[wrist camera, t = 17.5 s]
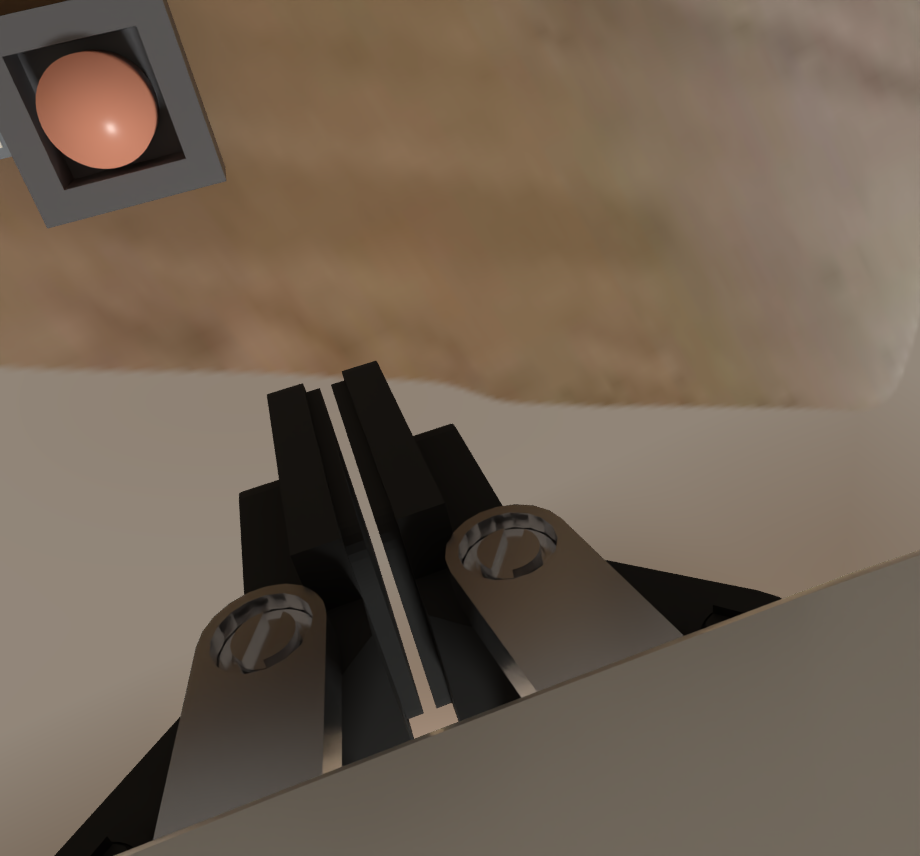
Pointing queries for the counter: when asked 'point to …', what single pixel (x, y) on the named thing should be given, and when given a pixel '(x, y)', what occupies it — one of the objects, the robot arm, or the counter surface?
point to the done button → (97, 108)
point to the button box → (162, 61)
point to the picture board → (4, 149)
